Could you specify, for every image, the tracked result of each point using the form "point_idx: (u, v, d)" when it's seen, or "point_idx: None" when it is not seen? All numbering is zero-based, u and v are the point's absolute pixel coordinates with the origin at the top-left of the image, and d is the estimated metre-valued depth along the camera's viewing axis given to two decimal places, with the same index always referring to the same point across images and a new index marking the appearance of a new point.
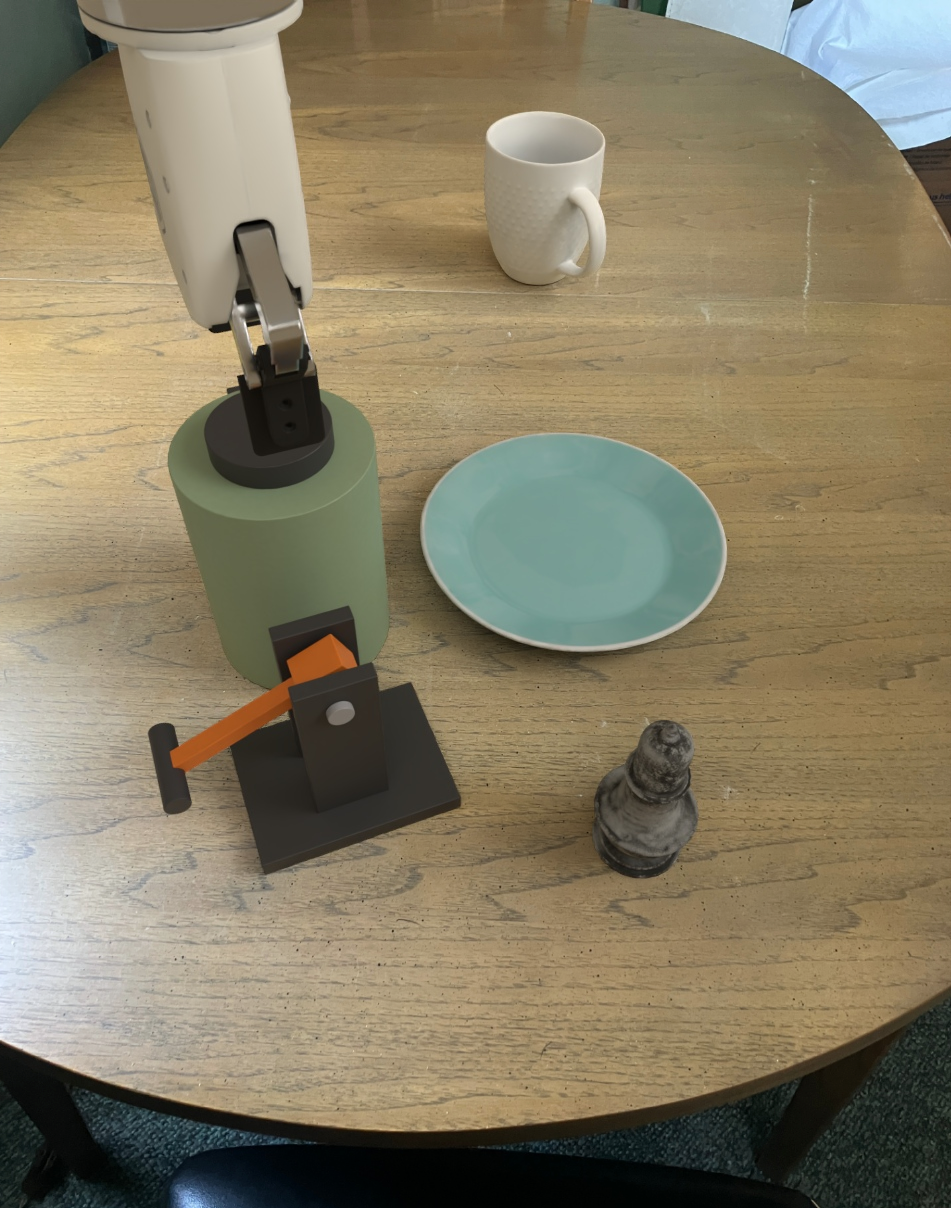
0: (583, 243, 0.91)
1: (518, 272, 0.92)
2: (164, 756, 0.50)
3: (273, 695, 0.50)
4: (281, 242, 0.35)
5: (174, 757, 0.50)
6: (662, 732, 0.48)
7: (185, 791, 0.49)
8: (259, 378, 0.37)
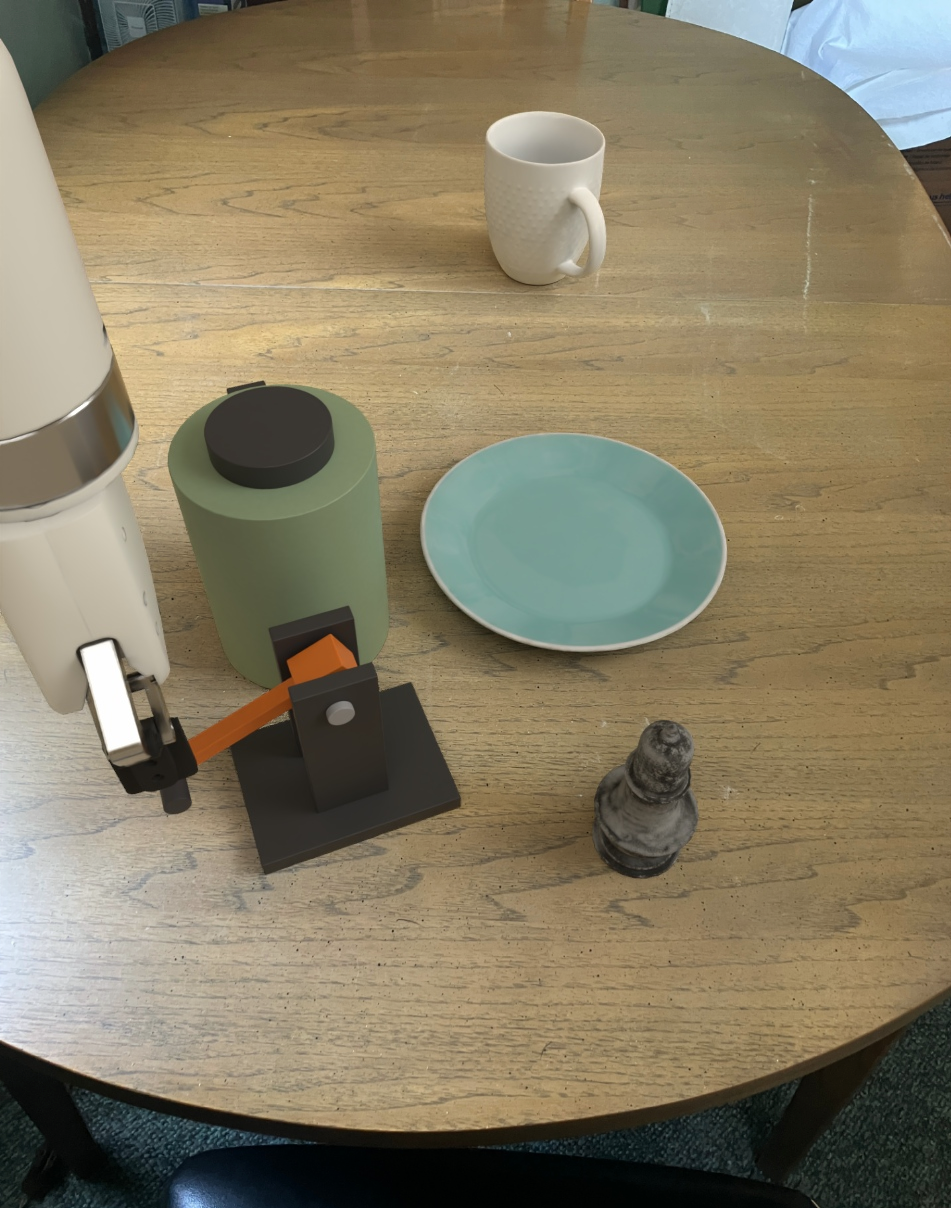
0: (583, 243, 0.91)
1: (518, 272, 0.92)
2: None
3: (273, 695, 0.50)
4: (127, 649, 0.36)
5: None
6: (662, 732, 0.48)
7: (185, 791, 0.49)
8: None
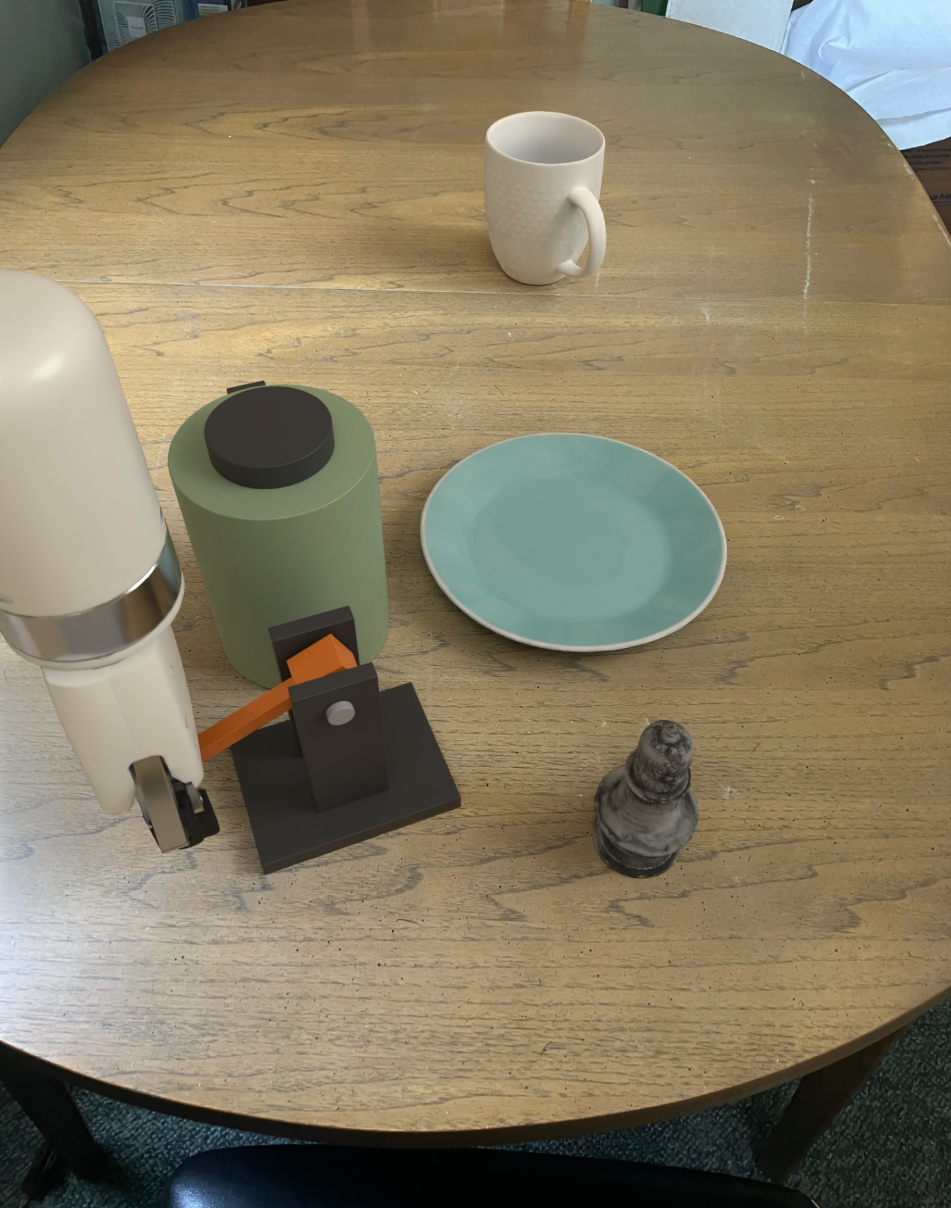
0: (583, 243, 0.91)
1: (518, 272, 0.92)
2: None
3: (273, 695, 0.50)
4: (170, 763, 0.42)
5: None
6: (662, 732, 0.48)
7: None
8: None
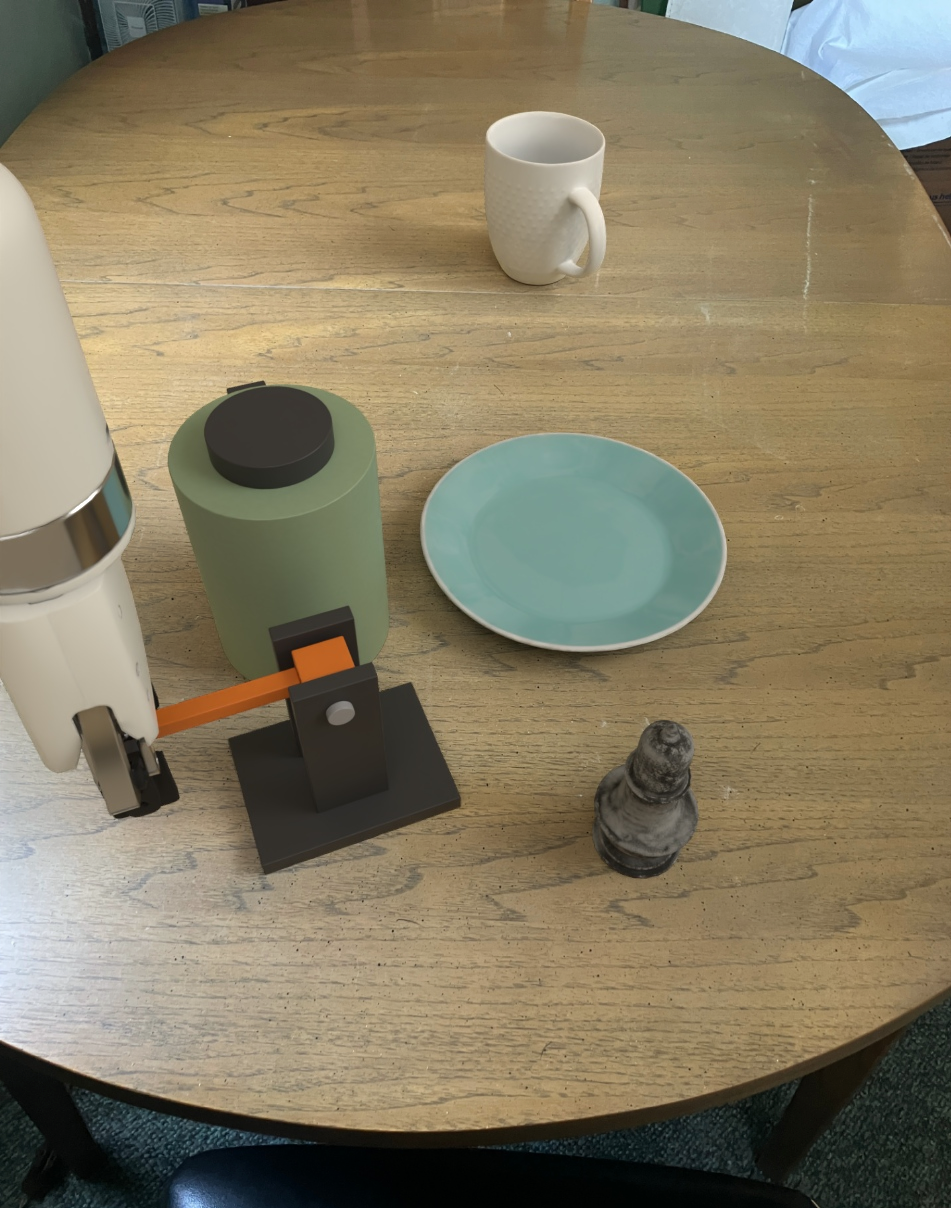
0: (583, 243, 0.91)
1: (518, 272, 0.92)
2: None
3: (268, 682, 0.49)
4: (119, 715, 0.38)
5: None
6: (662, 732, 0.48)
7: None
8: None
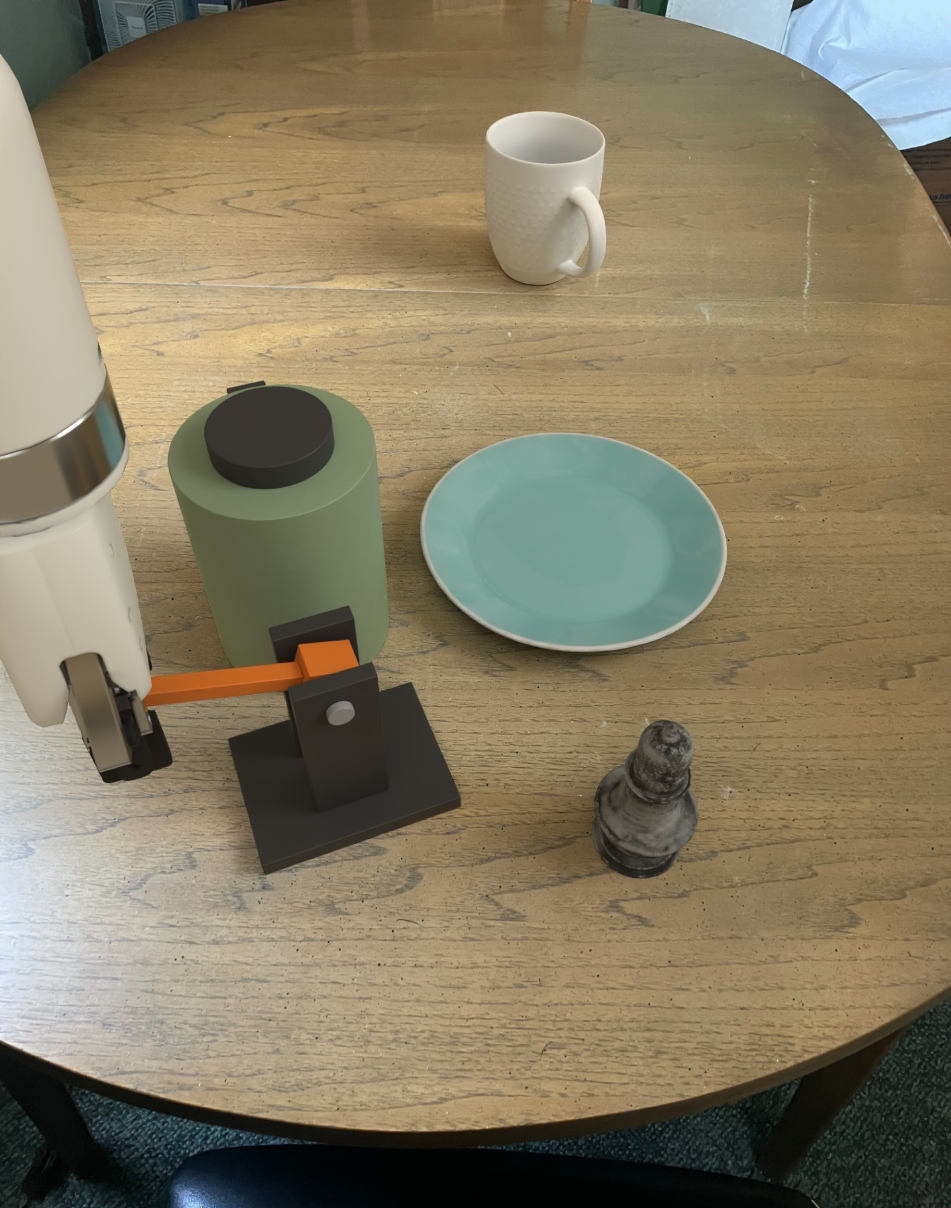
0: (583, 243, 0.91)
1: (518, 272, 0.92)
2: None
3: (271, 670, 0.48)
4: (110, 664, 0.36)
5: None
6: (662, 732, 0.48)
7: None
8: None
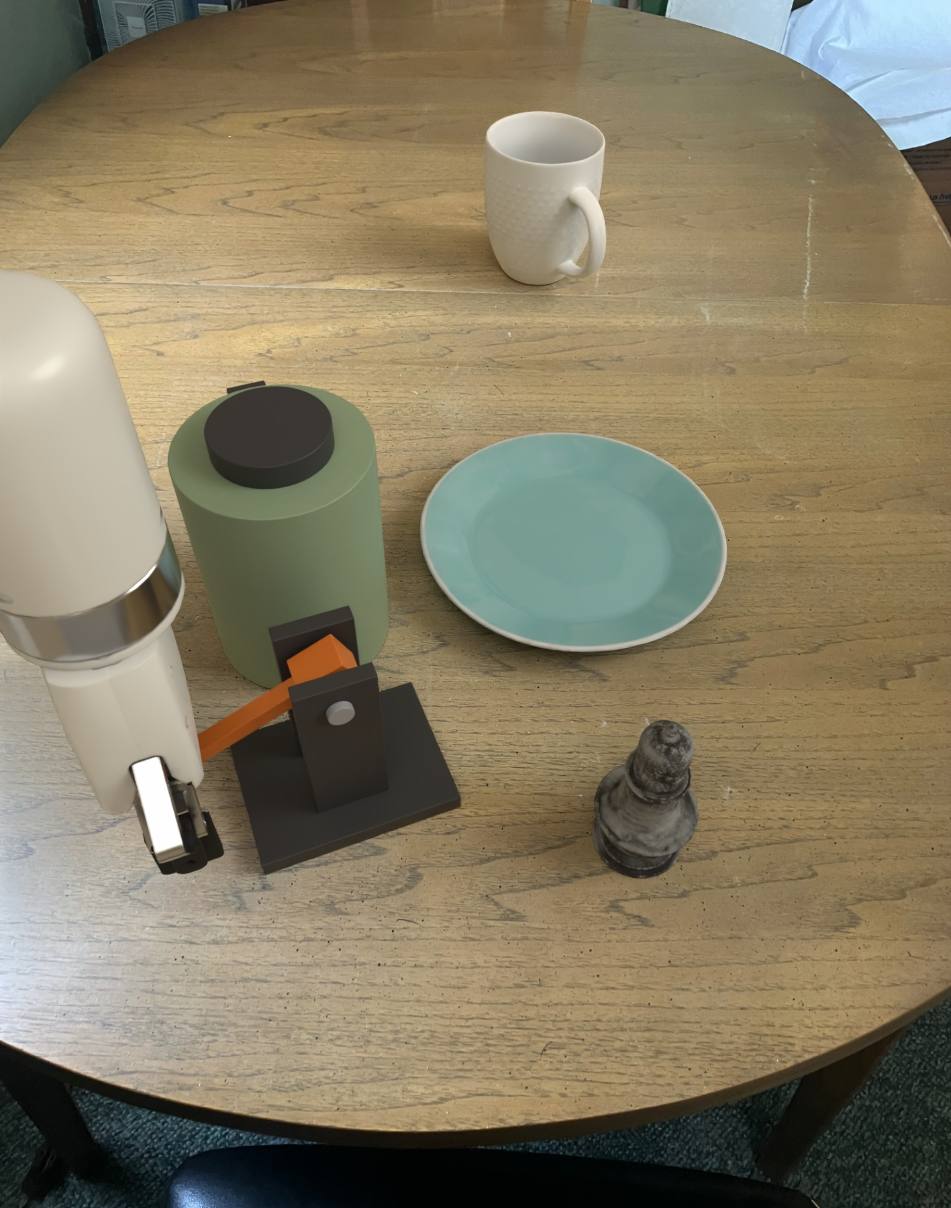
0: (583, 243, 0.91)
1: (518, 272, 0.92)
2: None
3: (273, 695, 0.50)
4: (171, 763, 0.42)
5: None
6: (662, 732, 0.48)
7: None
8: None
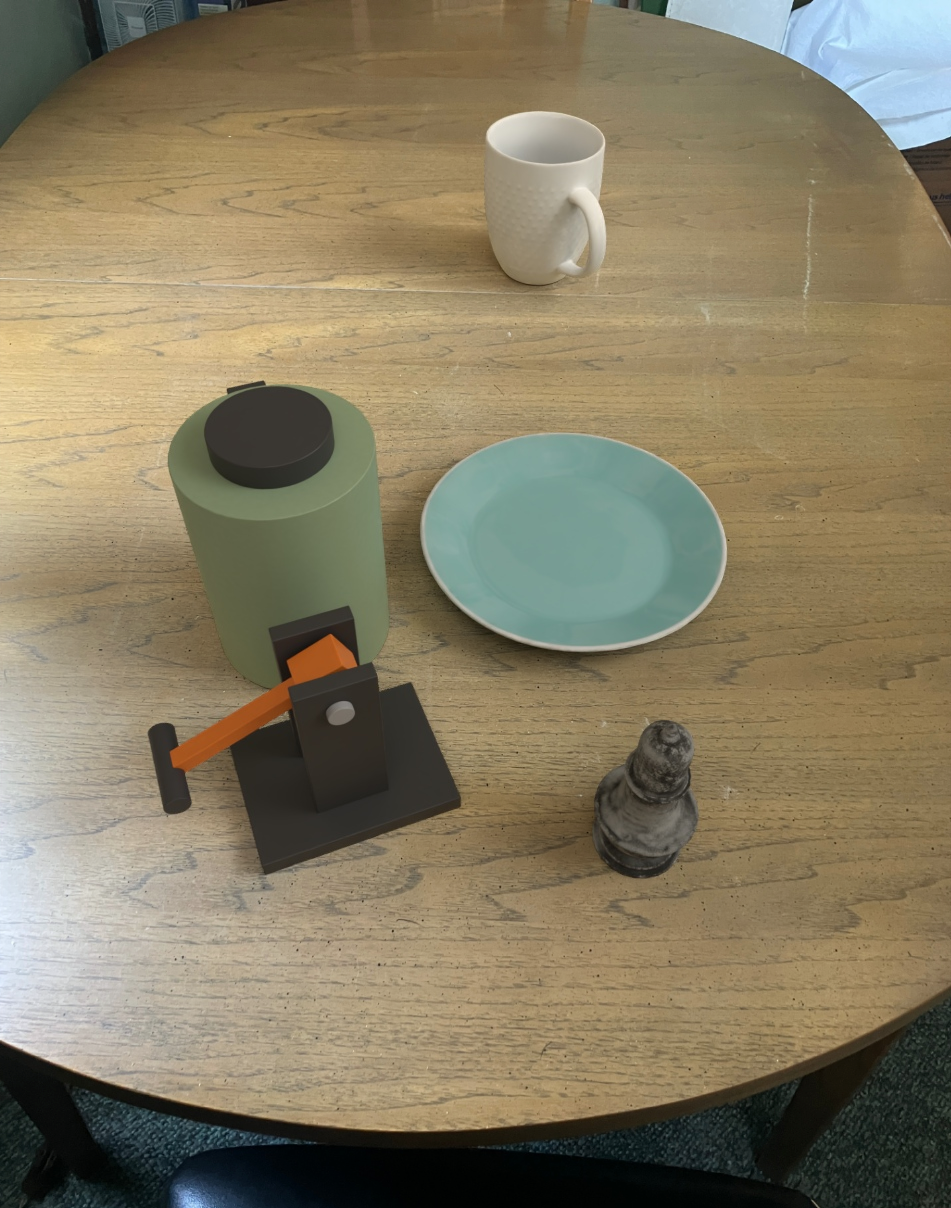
0: (583, 243, 0.91)
1: (518, 272, 0.92)
2: (164, 756, 0.50)
3: (273, 695, 0.50)
4: None
5: (173, 757, 0.50)
6: (662, 732, 0.48)
7: (185, 791, 0.49)
8: None
